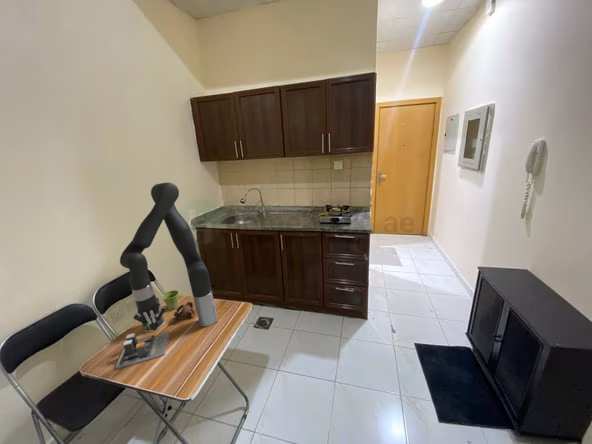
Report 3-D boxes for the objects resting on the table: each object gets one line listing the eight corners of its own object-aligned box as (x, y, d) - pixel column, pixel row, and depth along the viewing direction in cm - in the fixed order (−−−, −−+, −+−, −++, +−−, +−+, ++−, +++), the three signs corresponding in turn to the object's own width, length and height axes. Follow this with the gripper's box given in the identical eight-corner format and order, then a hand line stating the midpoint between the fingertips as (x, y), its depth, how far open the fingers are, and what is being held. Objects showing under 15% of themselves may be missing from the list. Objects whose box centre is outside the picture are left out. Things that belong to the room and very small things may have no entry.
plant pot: (185, 304, 150) (182, 292, 147) (170, 313, 142) (167, 300, 140) (176, 300, 154) (173, 288, 152) (161, 309, 147) (158, 296, 145)
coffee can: (165, 326, 131) (158, 303, 127) (142, 334, 126) (135, 311, 123) (165, 316, 140) (159, 294, 136) (144, 323, 135) (137, 301, 132)
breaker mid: (135, 349, 114) (131, 339, 113) (133, 352, 112) (130, 342, 111) (127, 351, 113) (124, 341, 112) (126, 354, 111) (122, 344, 110)
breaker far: (137, 342, 118) (134, 333, 117) (136, 345, 116) (133, 336, 115) (130, 344, 118) (127, 335, 116) (129, 347, 116) (125, 338, 114)
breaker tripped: (147, 351, 112) (144, 341, 111) (146, 355, 110) (143, 345, 109) (140, 353, 111) (136, 343, 110) (138, 357, 109) (135, 347, 108)
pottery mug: (192, 322, 133) (181, 313, 130) (180, 328, 136) (169, 319, 133) (200, 304, 144) (190, 296, 140) (189, 310, 146) (178, 302, 143)
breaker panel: (169, 335, 124) (168, 330, 123) (165, 354, 112) (163, 350, 111) (126, 347, 119) (124, 342, 118) (116, 369, 106) (114, 364, 105)
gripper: (162, 287, 111) (172, 319, 115) (129, 295, 107) (141, 328, 112) (159, 295, 104) (170, 329, 109) (124, 304, 100) (136, 339, 105)
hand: (155, 328), depth 110 cm, fingers closed
